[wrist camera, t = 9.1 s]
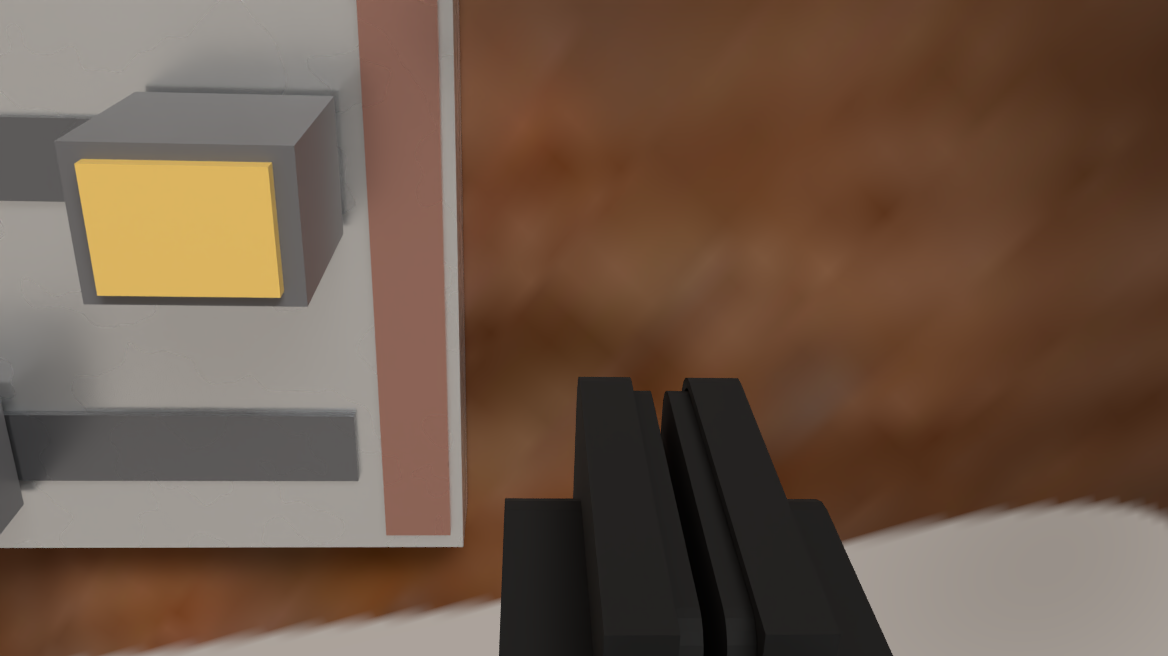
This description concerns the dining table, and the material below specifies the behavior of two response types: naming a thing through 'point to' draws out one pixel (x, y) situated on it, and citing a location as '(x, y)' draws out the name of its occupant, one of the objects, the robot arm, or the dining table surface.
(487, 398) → the dining table surface
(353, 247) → the panel
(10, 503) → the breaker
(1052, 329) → the dining table surface
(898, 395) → the dining table surface
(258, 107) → the block
